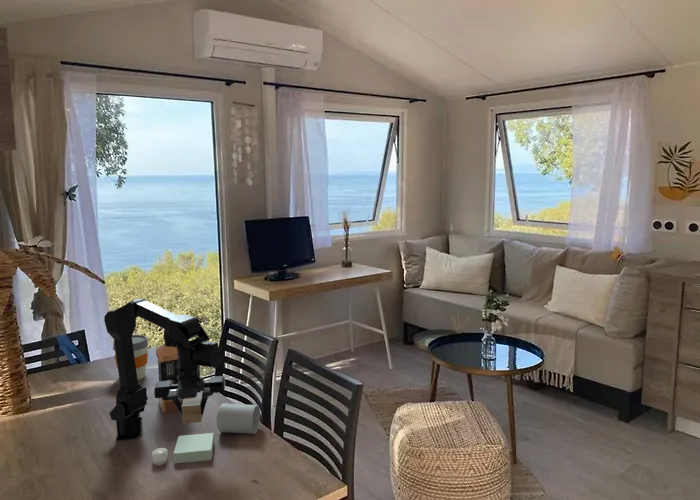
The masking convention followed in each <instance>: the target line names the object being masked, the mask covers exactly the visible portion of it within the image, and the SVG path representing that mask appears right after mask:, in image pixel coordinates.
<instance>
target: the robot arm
mask: <svg viewBox="0 0 700 500" xmlns="http://www.w3.org/2000/svg"><path fill="white" fill-rule="evenodd" d="M137 318H141V319H143V320H145V321H147V322H150V323H152V324H153V325H156V326H158V327H160V328H161V329H164V330H166V331H167V333H168V335H169V336H170V337H172V338H173V339H175V341H174V342H173V343H172V344H171V347H176V348H177V355H178V369H179V378H178V384H172V382H171V381H159V380H158V382H157V383H156V385H155V388H154V390H153V391H154V393H153V394H154V398H155V399H159V398H165V397H167V396H168V397H167V399H168V400H172V401H174V403H175V404H176V406H177V408H178V412H179V414H180V416H181V417H182V408H181V407H182V399H184V398H192V399H193V398H197V397H198V393H201V398H202V405H201V414H202V416H204V413H205V409H206V404H207V401H208V399H209V398H210V397H211V396H213V395H214V394H215V393H217V394H219V393H224V392H225V390H226V389H225V388H226V378H225V377H224V375H219V376H218V375H217V376H210V379H209V380H208V381H207V380H206V381H205V379H204V377H201V368H200V367H206V368H212V369H218V368H219V367H221V366H222V364H223V362H224V358H225V352H224V351H223V349H222V347H220V346H219V343H218V342H215V341H210V337H209V335H208V333H206V330H205V328H203V326H202V325H201V323H200V320H199V319H198V318H197V317H196V316H192V315H187V314H178V313H173V312H171V311H169V310H167V309H165V308H162V307H160V306H158V305H156V304H154V303H152V302H149V301H148V300H147V299H146V298H137V299H134V300H130V301H129V302H127V303H126V304H125V305H123V306H121V307H118V308H116V309H112V310H108V311H107V312H106V314H105V315H104V317H103V319H104V320H103V321H104V326H105V329H106V333H108V334H109V336H111V338H112V339H113V341H114V343H115V351H116V358H117V365H116V367H117V366H118V368H117V370H118V372H117V373H118V380H119V388H118V390H117V393H116V396H115V406H114V407H113V408H112V410H110V411H109V416H110V419H111V420H112V421H115V425H116V433H117V434H116V437H115V440H116V441H120V440H121V441H122V440H132V439H138V438H139V437H140V436H141V433H142V432H143V430H144V429H143V426H144V425H143V417H142V416H141V413H143V412H144V411H145V407H146V405H147V404H148V403H147V401H148V400H149V398H148V394H147V387H144V386H142V385H141V384H140V383H139V380H138V379H137V372H136V364H135V357H134V349H133V341H132V335H134V332H135V329H136V328H137ZM190 339H191V340H190ZM115 351H114V352H115Z"/></svg>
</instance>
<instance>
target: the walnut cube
mask: <svg viewBox="0 0 700 500" xmlns="http://www.w3.org/2000/svg"><path fill="white" fill-rule="evenodd" d="M201 405H202V397H195V398H192V399H183V403H182V407H181V408H182V416H181V419H182V424H193V423H202V419H203V415H202V414H201Z"/></svg>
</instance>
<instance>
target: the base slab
mask: <svg viewBox="0 0 700 500" xmlns="http://www.w3.org/2000/svg"><path fill="white" fill-rule="evenodd" d="M214 444H215V434H214V432H209V433H198V434H186V435H178V437H177V440H176V443H175V448H174V450H173V463H174V464H175V465H176V464H185V463H194V462H205V461H212V459H213V451H214V446H215V445H214Z"/></svg>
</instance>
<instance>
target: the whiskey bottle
mask: <svg viewBox="0 0 700 500" xmlns="http://www.w3.org/2000/svg"><path fill="white" fill-rule="evenodd" d="M163 341H164V344H162V345H161V346H159V347H157V348H156V349H155V355H156V358H157V367H158V382H159V381H171V382H172V384H178V378H179V369H178V355H177V348H176V347H171V344H172V343H173V342H174V341H175V339H173V338H172V337H170V336H169V335H168V333H167V331H166V330H165V329H164V331H163ZM167 397H168V396H167ZM167 397H165V398H158V405H159V407H160V408H159V409H160V410H161V412H162V413H163V414H168V413H173V412H179V410H178V408H177V406H176V404H175V403H174V401H172V400H168V399H167ZM184 399H193V398H184ZM182 403H183V399H182Z"/></svg>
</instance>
